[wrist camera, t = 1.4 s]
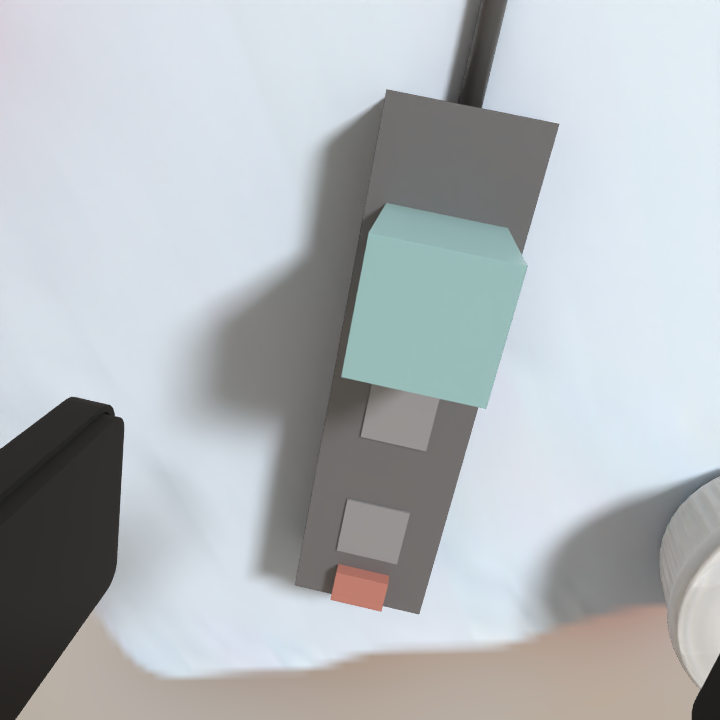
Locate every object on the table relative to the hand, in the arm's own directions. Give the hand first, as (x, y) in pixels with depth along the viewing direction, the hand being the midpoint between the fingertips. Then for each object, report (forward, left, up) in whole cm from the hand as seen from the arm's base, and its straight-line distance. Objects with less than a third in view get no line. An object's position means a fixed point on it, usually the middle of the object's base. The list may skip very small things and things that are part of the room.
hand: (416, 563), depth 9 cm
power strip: (+1, 0, -19) cm, 19 cm away
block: (0, 0, -18) cm, 18 cm away
